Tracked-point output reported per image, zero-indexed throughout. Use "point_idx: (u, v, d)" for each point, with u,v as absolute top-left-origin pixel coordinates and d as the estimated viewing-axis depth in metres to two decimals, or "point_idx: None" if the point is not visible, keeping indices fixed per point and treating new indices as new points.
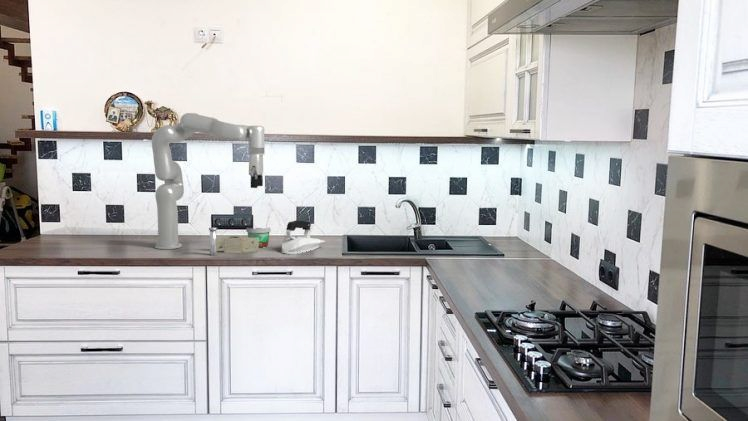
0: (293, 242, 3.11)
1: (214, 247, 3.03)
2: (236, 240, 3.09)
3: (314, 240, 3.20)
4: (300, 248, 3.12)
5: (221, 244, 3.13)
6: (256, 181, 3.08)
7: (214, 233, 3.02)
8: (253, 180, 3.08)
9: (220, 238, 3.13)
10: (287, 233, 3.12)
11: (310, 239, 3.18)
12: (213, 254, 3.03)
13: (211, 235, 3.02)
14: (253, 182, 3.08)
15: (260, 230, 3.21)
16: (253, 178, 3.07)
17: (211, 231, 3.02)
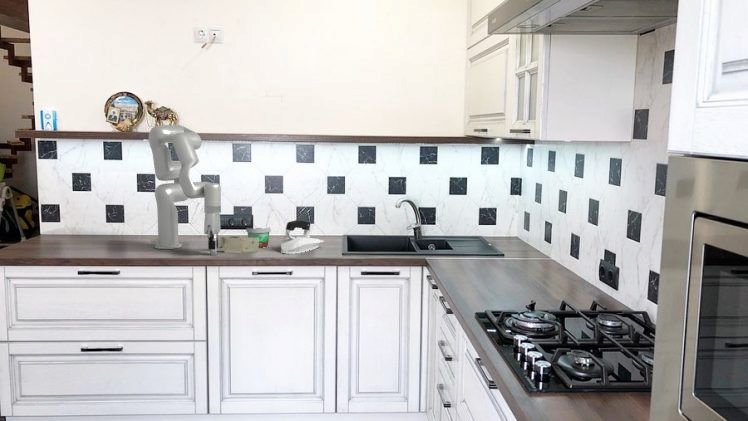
0: (292, 242, 3.12)
1: None
2: (236, 240, 3.09)
3: (313, 240, 3.20)
4: (299, 248, 3.12)
5: (221, 244, 3.13)
6: (214, 242, 3.01)
7: None
8: (211, 242, 3.01)
9: (220, 238, 3.13)
10: (286, 233, 3.12)
11: (309, 239, 3.18)
12: (213, 254, 3.03)
13: None
14: (211, 244, 3.01)
15: (260, 230, 3.21)
16: (211, 240, 3.00)
17: None
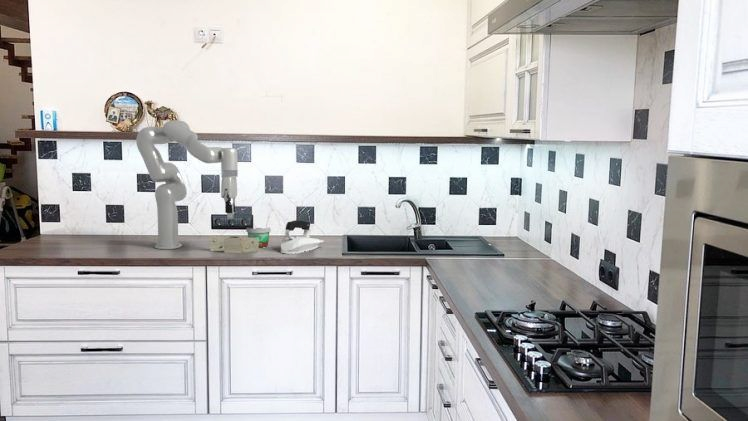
0: (292, 242, 3.12)
1: None
2: (236, 240, 3.09)
3: (313, 240, 3.20)
4: (299, 248, 3.12)
5: (221, 244, 3.13)
6: (231, 206, 3.07)
7: None
8: (228, 205, 3.06)
9: (220, 238, 3.13)
10: (286, 233, 3.12)
11: (309, 239, 3.18)
12: (230, 218, 3.08)
13: (228, 199, 3.07)
14: (228, 207, 3.06)
15: (260, 230, 3.21)
16: (227, 203, 3.05)
17: None
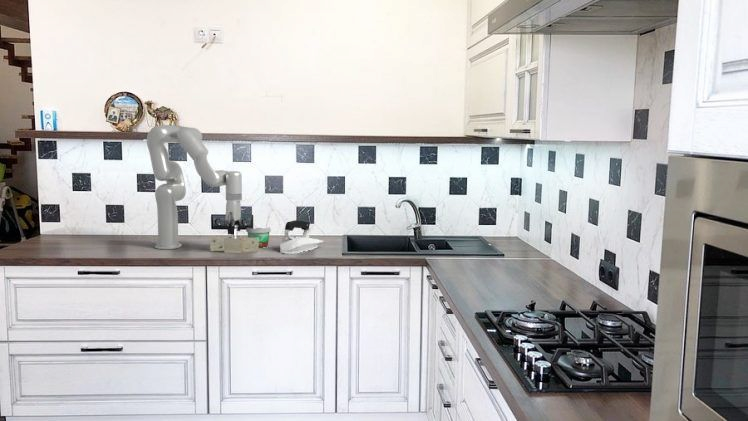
0: (291, 242, 3.12)
1: None
2: (236, 240, 3.09)
3: (313, 240, 3.20)
4: (298, 248, 3.12)
5: (221, 244, 3.13)
6: (233, 227, 3.07)
7: (235, 230, 3.11)
8: (230, 227, 3.06)
9: (220, 238, 3.13)
10: (285, 233, 3.12)
11: (309, 239, 3.18)
12: None
13: None
14: (230, 229, 3.07)
15: (260, 230, 3.21)
16: (230, 225, 3.06)
17: None
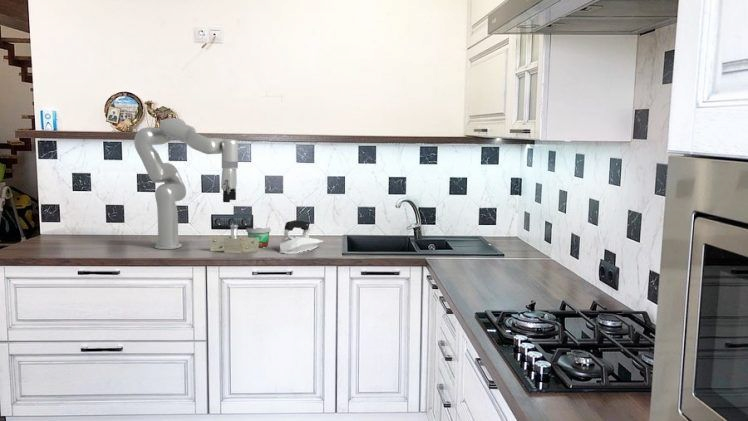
0: (291, 242, 3.12)
1: None
2: (236, 240, 3.09)
3: (312, 240, 3.21)
4: (298, 248, 3.12)
5: (221, 244, 3.13)
6: (228, 195, 3.05)
7: (235, 230, 3.11)
8: (225, 194, 3.04)
9: (220, 238, 3.13)
10: (285, 233, 3.12)
11: (308, 239, 3.18)
12: None
13: (232, 232, 3.11)
14: (225, 196, 3.04)
15: (260, 230, 3.21)
16: (225, 192, 3.03)
17: (232, 228, 3.11)
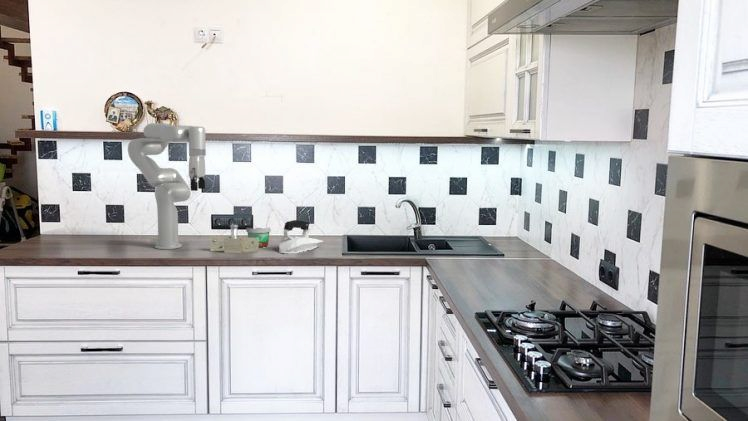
0: (290, 242, 3.12)
1: None
2: (236, 240, 3.09)
3: (312, 240, 3.21)
4: (297, 248, 3.12)
5: (221, 244, 3.13)
6: (196, 184, 2.99)
7: (235, 230, 3.11)
8: (193, 183, 2.98)
9: (220, 238, 3.13)
10: (284, 233, 3.12)
11: (308, 239, 3.18)
12: None
13: (232, 232, 3.11)
14: (193, 185, 2.98)
15: (260, 230, 3.21)
16: (193, 181, 2.97)
17: (232, 228, 3.11)
